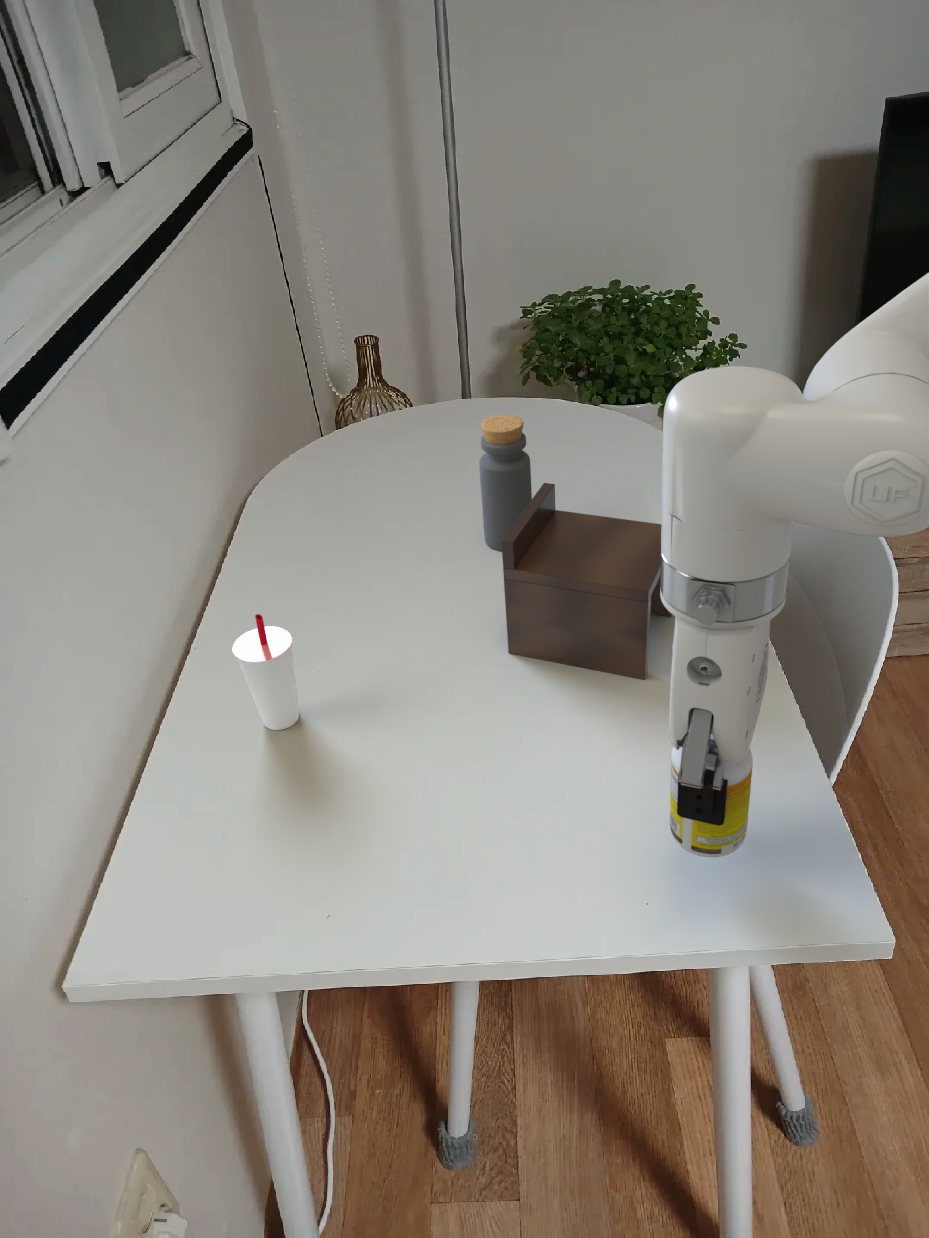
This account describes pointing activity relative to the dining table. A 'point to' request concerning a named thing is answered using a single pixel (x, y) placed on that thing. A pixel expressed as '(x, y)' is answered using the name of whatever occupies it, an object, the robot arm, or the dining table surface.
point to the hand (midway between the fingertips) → (710, 785)
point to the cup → (269, 673)
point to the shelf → (581, 587)
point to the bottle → (503, 476)
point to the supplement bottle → (733, 831)
